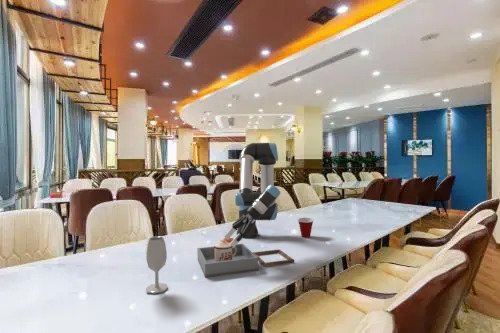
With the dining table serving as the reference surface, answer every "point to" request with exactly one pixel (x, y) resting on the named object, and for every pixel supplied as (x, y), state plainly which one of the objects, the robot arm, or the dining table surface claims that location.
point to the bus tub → (238, 264)
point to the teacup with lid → (223, 251)
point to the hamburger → (228, 240)
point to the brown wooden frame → (289, 260)
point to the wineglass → (156, 262)
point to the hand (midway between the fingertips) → (228, 241)
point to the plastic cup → (305, 226)
